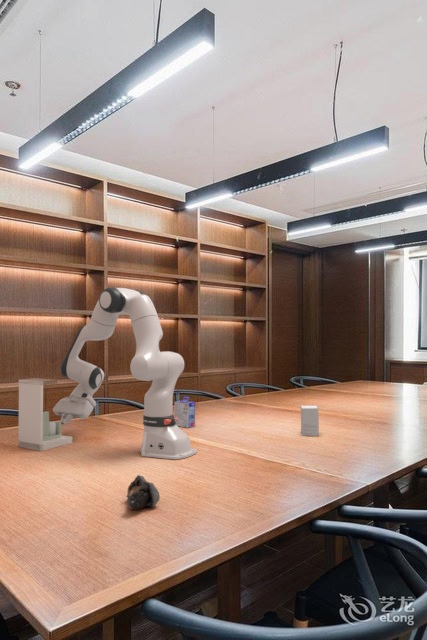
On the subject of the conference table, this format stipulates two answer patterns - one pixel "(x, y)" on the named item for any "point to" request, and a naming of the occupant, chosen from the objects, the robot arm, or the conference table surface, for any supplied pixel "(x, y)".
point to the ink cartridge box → (185, 413)
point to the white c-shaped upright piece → (35, 416)
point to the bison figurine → (142, 494)
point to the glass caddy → (50, 428)
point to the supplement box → (309, 421)
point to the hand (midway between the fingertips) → (62, 423)
